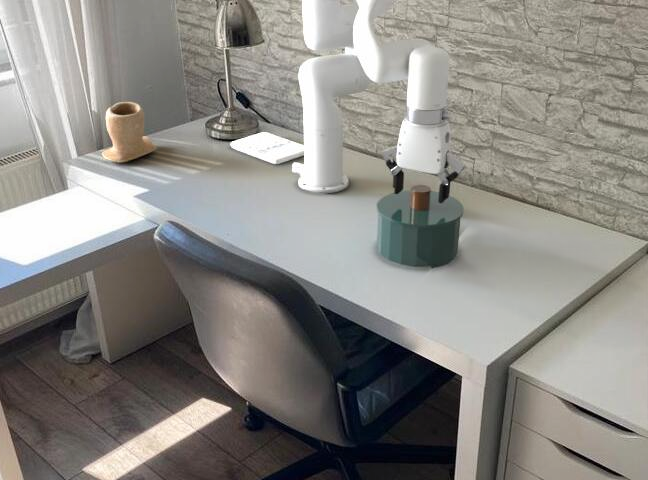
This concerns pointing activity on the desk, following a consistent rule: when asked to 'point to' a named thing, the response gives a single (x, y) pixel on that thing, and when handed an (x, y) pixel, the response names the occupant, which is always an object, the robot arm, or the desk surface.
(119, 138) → the stone cup
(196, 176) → the desk surface
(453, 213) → the lid
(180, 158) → the desk surface
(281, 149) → the white flat block
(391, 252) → the canister
